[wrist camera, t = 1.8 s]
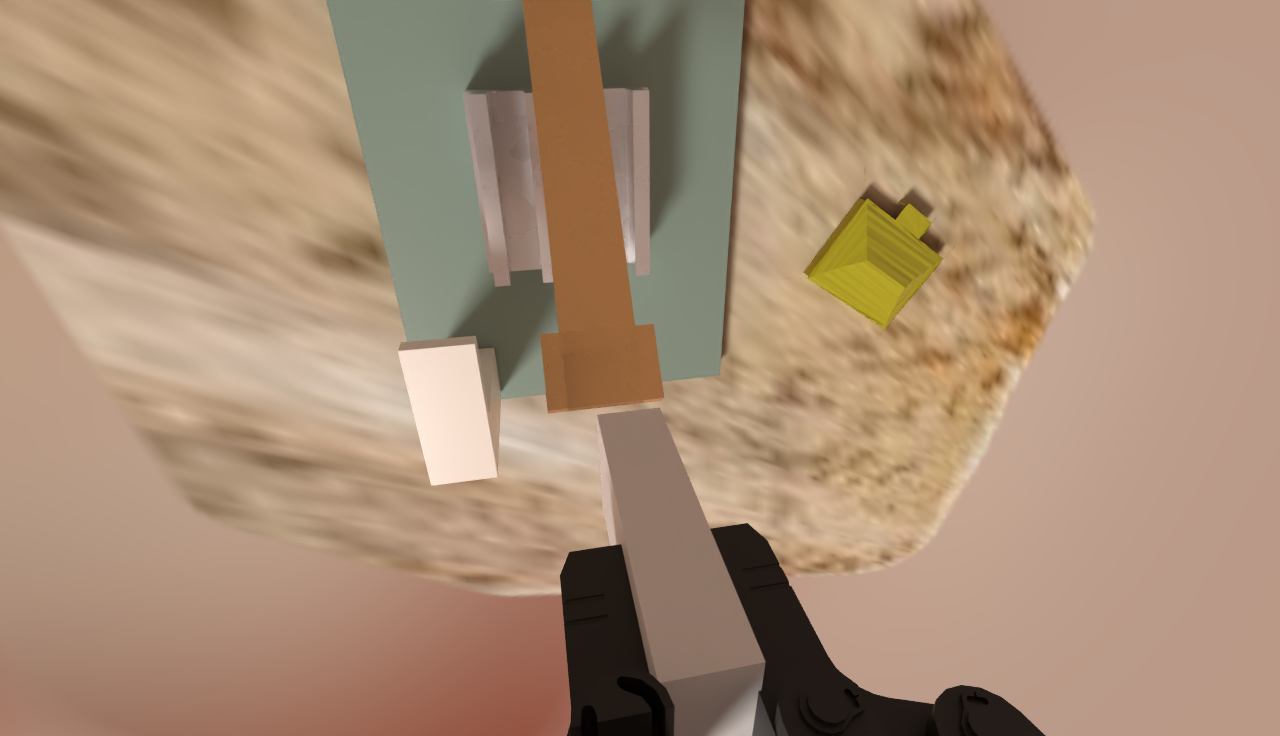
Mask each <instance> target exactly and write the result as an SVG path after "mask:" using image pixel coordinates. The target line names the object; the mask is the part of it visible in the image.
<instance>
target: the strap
mask: <svg viewBox="0 0 1280 736" xmlns="http://www.w3.org/2000/svg"><path fill="white" fill-rule="evenodd" d="M522 3H523V12H524V21H525V30H526V40H527V49H528V58H529V67H530V76H531V85H532V94H533V103H534V112H535V121H536V130H537V139H538V148H539V157H540V167H541V176H542V185H543V194H544V203H545V212H546V221H547V230H548V239H549V248H550V257H551V266H552V275H553V284H554V294H555V303H556V312H557V321H558V330H559V333H549V334H540V341H541V350H542V360H543V370H544V379H545V389H546V399H547V408H548V414H549V413H557V412H566V411H575V410H583V409H592V408H601V407H609V406H618V405H627V404H635V403H644V402H653V401H661V400H662V399H663V398H664V393H663V386H662V379H661V372H660V365H659V358H658V351H657V343H656V336H655V329H654V324H647V325H636V326H635V320H634V313H633V305H632V298H631V291H630V283H629V276H628V268H627V261H626V254H625V246H624V239H623V232H622V224H621V217H620V210H619V202H618V195H617V187H616V180H615V173H614V165H613V158H612V151H611V143H610V136H609V129H608V121H607V114H606V106H605V99H604V92H603V84H602V77H601V70H600V62H599V55H598V48H597V40H596V33H595V25H594V18H593V11H592V3H591V0H522Z"/></svg>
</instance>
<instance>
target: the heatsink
mask: <svg viewBox="0 0 1280 736" xmlns="http://www.w3.org/2000/svg"><path fill="white" fill-rule="evenodd" d="M603 92H604V99H605V106H606V114H607V121H608V129H609V136H610V143H611V151H612V158H613V165H614V173H615V180H616V187H617V195H618V202H619V210H620V217H621V224H622V232H623V239H624V246H625V254H626V261H627V263H629V265H630V266H631V268H632V270H633V272H634V274H635V276H639V275H650V156H649V90H648V88H647V87H643V86H603ZM462 93H463V100H464V107H465V114H466V120H467V127H468V134H469V141H470V147H471V154H472V161H473V167H474V174H475V181H476V188H477V194H478V201H479V208H480V215H481V221H482V228H483V235H484V241H485V248H486V255H487V262H488V268H489V273H493V274H494V281H495V287H498V286H511V271H523V270H536V269H542V276H543V283H549V282H553V275H552V266H551V257H550V248H549V239H548V230H547V221H546V212H545V203H544V194H543V185H542V176H541V167H540V157H539V148H538V139H537V130H536V121H535V112H534V103H533V94H532V88H513V89H468V90H464V91H463V92H462Z"/></svg>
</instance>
